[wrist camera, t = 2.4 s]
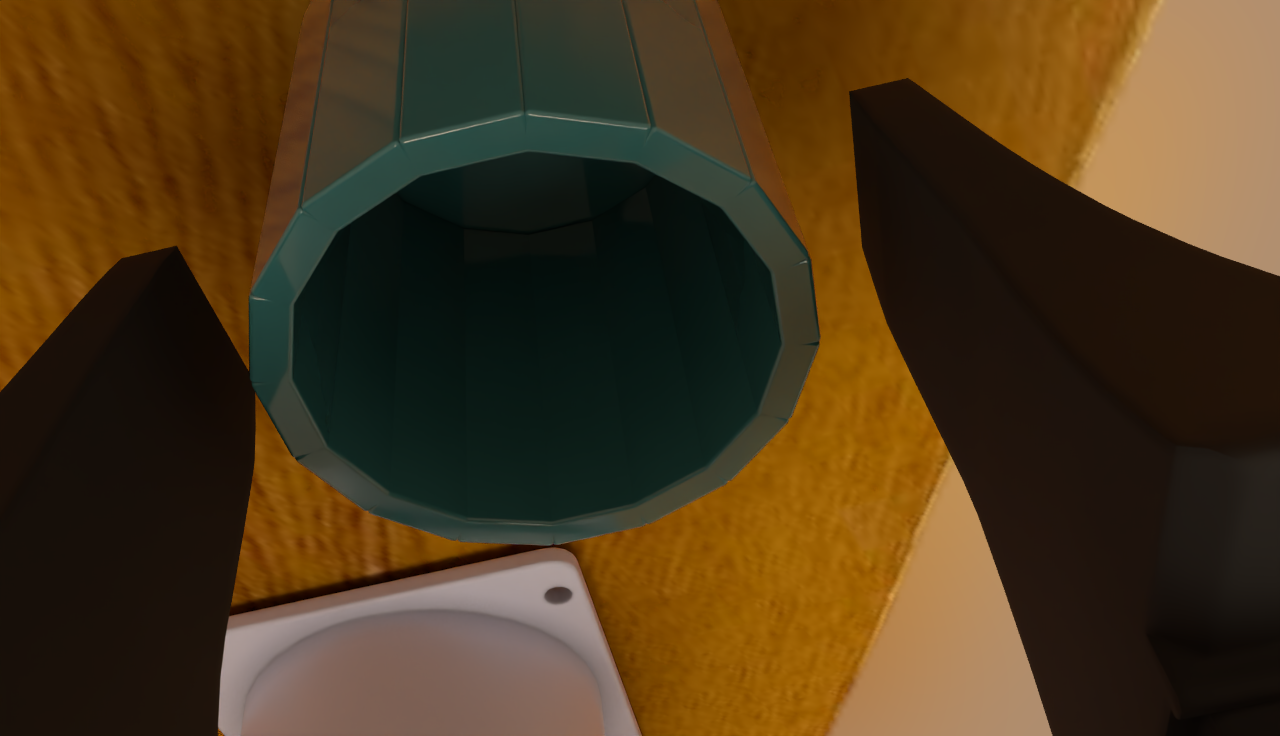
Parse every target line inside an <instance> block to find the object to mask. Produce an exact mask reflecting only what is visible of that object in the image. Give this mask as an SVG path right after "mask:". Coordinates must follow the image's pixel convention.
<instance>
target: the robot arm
mask: <svg viewBox="0 0 1280 736" xmlns="http://www.w3.org/2000/svg"><path fill="white" fill-rule="evenodd" d="M849 95H850V107H851V119H852V131H853V143H854V155H855V167H856V179H857V191H858V203H859V215H860V227H861V239H862V248H863V251H864V255H865V258H866V261H867V264H868V267H869V270H870V273H871V276H872V280H873V283H874V286H875V289H876V292H877V295H878V298H879V301H880V304H881V307H882V310H883V313H884V316H885V319H886V322H887V324H888V327H889V329H890V331H891V333H892V335H893V337H894V339H895V341H896V343H897V346H898V348H899V350H900V352H901V354H902V356H903V358H904V360H905V362H906V364H907V366H908V368H909V371H910V373H911V375H912V377H913V379H914V381H915V383H916V385H917V387H918V389H919V391H920V393H921V395H922V397H923V399H924V401H925V403H926V405H927V408H928V410H929V412H930V414H931V416H932V418H933V420H934V422H935V424H936V426H937V428H938V430H939V432H940V434H941V436H942V438H943V440H944V442H945V444H946V446H947V449H948V451H949V453H950V455H951V457H952V459H953V461H954V463H955V465H956V467H957V469H958V471H959V473H960V475H961V477H962V479H963V481H964V484H965V486H966V488H967V490H968V493H969V495H970V498H971V500H972V502H973V505H974V507H975V509H976V512H977V514H978V517H979V520H980V522H981V525H982V528H983V531H984V534H985V536H986V539H987V542H988V545H989V547H990V550H991V553H992V556H993V559H994V562H995V565H996V567H997V570H998V573H999V576H1000V579H1001V581H1002V584H1003V587H1004V590H1005V593H1006V596H1007V599H1008V602H1009V605H1010V608H1011V611H1012V614H1013V617H1014V620H1015V622H1016V625H1017V628H1018V631H1019V634H1020V637H1021V640H1022V643H1023V646H1024V649H1025V652H1026V654H1027V658H1028V661H1029V664H1030V667H1031V670H1032V673H1033V676H1034V679H1035V682H1036V685H1037V688H1038V691H1039V695H1040V698H1041V701H1042V704H1043V707H1044V710H1045V713H1046V716H1047V719H1048V723H1049V726H1050V729H1051V732H1052V734H1053V736H1280V276H1277V275H1274V274H1271V273H1268V272H1265V271H1262V270H1260V269H1257V268H1254V267H1251V266H1248V265H1245V264H1242V263H1239V262H1236V261H1233V260H1230V259H1227V258H1224V257H1221V256H1219V255H1216V254H1213V253H1211V252H1208V251H1206V250H1203V249H1200V248H1198V247H1195V246H1193V245H1190V244H1188V243H1185V242H1183V241H1181V240H1178V239H1176V238H1174V237H1172V236H1169V235H1167V234H1165V233H1163V232H1160V231H1158V230H1156V229H1153V228H1151V227H1149V226H1146V225H1144V224H1142V223H1140V222H1137V221H1135V220H1133V219H1131V218H1129V217H1127V216H1125V215H1123V214H1121V213H1119V212H1117V211H1115V210H1113V209H1111V208H1109V207H1106V206H1105V205H1103V204H1101V203H1099V202H1097V201H1095V200H1094V199H1092V198H1090V197H1088V196H1087V195H1085V194H1083V193H1081V192H1079V191H1077V190H1076V189H1074V188H1072V187H1070V186H1068V185H1067V184H1065V183H1063V182H1061V181H1059V180H1058V179H1056V178H1054V177H1053V176H1051V175H1049V174H1048V173H1046V172H1044V171H1043V170H1041V169H1039V168H1038V167H1036V166H1034V165H1033V164H1031V163H1030V162H1028V161H1026V160H1025V159H1023V158H1022V157H1020V156H1019V155H1017V154H1016V153H1014V152H1012V151H1011V150H1009V149H1008V148H1006V147H1005V146H1003V145H1002V144H1000V143H999V142H997V141H996V140H994V139H993V138H992V137H990V136H989V135H987V134H986V133H984V132H983V131H981V130H980V129H979V128H977V127H976V126H974V125H973V124H972V123H970V122H969V121H967V120H966V119H964V118H963V117H962V116H960V115H959V114H958V113H956V112H955V111H953V110H952V109H951V108H949V107H948V106H946V105H945V104H944V103H942V102H941V101H939V100H938V99H937V98H935V97H934V96H933V95H931V94H930V93H928V92H927V91H925V90H924V89H923V88H921V87H920V86H918V85H917V84H916V83H914V82H913V81H911V80H910V79H908V78H906V79H902V80H897V81H893V82H889V83H884V84H880V85H876V86H871V87H867V88H863V89H858V90H854V91H849ZM255 428H256V426H255V391H254V389H253V387H252V382H251V380H250V378H249V371H248V369H247V368H246V366H245V364H244V362H243V361H242V359H241V357H240V356H239V354H238V352H237V350H236V349H235V347H234V345H233V343H232V342H231V340H230V338H229V336H228V335H227V333H226V331H225V329H224V328H223V326H222V324H221V322H220V321H219V319H218V317H217V315H216V314H215V312H214V310H213V308H212V307H211V305H210V303H209V301H208V300H207V298H206V296H205V294H204V293H203V291H202V289H201V288H200V286H199V284H198V282H197V281H196V279H195V277H194V275H193V274H192V272H191V270H190V268H189V267H188V265H187V263H186V261H185V260H184V258H183V256H182V254H181V253H180V251H179V249H178V247H177V246H174V247H169V248H165V249H161V250H156V251H152V252H148V253H143V254H139V255H135V256H130V257H126V258H122V259H121V260H119V261H118V262H117V263H116V264H115V265H114V266H113V267H112V268H111V269H110V270H109V271H108V272H107V273H106V274H105V275H104V276H103V277H102V278H101V279H100V280H99V281H98V282H97V283H96V284H95V286H94V287H93V288H92V289H91V290H90V291H89V292H88V293H87V294H86V295H85V297H84V298H83V299H82V300H81V301H80V302H79V303H78V304H77V306H76V307H75V308H74V309H73V310H72V311H71V312H70V314H69V315H68V316H67V317H66V318H65V319H64V320H63V322H62V323H61V324H60V325H59V326H58V327H57V328H56V330H55V331H54V332H53V333H52V334H51V335H50V337H49V338H48V339H47V340H46V341H45V342H44V343H43V344H42V346H41V347H40V348H39V349H38V350H37V351H36V352H35V354H34V355H33V356H32V357H31V358H30V359H29V360H28V362H27V363H26V364H25V365H24V366H23V367H22V368H21V369H20V371H19V372H18V373H17V374H16V375H15V376H14V377H13V379H12V380H11V381H10V382H9V383H8V384H7V385H6V386H5V388H4V389H3V390H2V391H1V392H0V736H218V728H219V729H220V731H221V732H222V733H223V734H224V735H225V736H642V735H641V732H640V729H639V726H638V724H637V721H636V718H635V716H634V713H633V710H632V707H631V705H630V702H629V699H628V697H627V694H626V691H625V689H624V686H623V683H622V680H621V678H620V675H619V672H618V670H617V667H616V664H615V661H614V659H613V656H612V653H611V651H610V648H609V645H608V642H607V640H606V637H605V634H604V632H603V629H602V626H601V623H600V621H599V618H598V615H597V613H596V610H595V607H594V605H593V602H592V599H591V596H590V594H589V591H588V588H587V586H586V583H585V580H584V577H583V575H582V572H581V569H580V567H579V564H578V561H577V559H576V558H575V556H574V555H573V553H571V552H569V551H567V550H565V549H561V548H556V547H551V548H543V549H538V550H533V551H529V552H524V553H520V554H515V555H510V556H506V557H501V558H496V559H492V560H487V561H483V562H478V563H473V564H469V565H464V566H459V567H455V568H450V569H445V570H441V571H436V572H432V573H427V574H422V575H418V576H413V577H408V578H404V579H399V580H394V581H390V582H385V583H381V584H376V585H371V586H367V587H362V588H357V589H353V590H348V591H344V592H339V593H334V594H330V595H325V596H320V597H316V598H311V599H306V600H302V601H297V602H293V603H288V604H283V605H279V606H274V607H269V608H265V609H260V610H255V611H251V612H246V613H242V614H237V615H232V616H229V613H230V608H231V602H232V596H233V590H234V584H235V579H236V573H237V567H238V561H239V555H240V550H241V544H242V538H243V532H244V527H245V520H246V514H247V508H248V502H249V496H250V489H251V483H252V476H253V469H254V461H255Z"/></svg>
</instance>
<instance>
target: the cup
mask: <svg viewBox="0 0 1280 736" xmlns="http://www.w3.org/2000/svg"><path fill="white" fill-rule="evenodd" d="M820 337H821V334H820V326H819V318H818V309H817V301H816V293H815V285H814V277H813V268H812V260H811V257H810V254H809V251H808V249H807V246H806V243H805V240H804V238H803V235H802V232H801V229H800V227H799V224H798V221H797V218H796V215H795V213H794V210H793V207H792V204H791V202H790V199H789V196H788V193H787V191H786V188H785V185H784V182H783V179H782V177H781V174H780V171H779V168H778V166H777V163H776V160H775V157H774V155H773V152H772V149H771V146H770V144H769V141H768V138H767V135H766V132H765V130H764V127H763V124H762V121H761V119H760V116H759V113H758V110H757V108H756V105H755V102H754V99H753V96H752V94H751V91H750V88H749V85H748V83H747V80H746V77H745V74H744V72H743V69H742V66H741V63H740V61H739V58H738V55H737V52H736V49H735V47H734V44H733V41H732V38H731V36H730V33H729V30H728V27H727V25H726V22H725V19H724V16H723V13H722V11H721V8H720V5H719V3H718V0H311V1H310V4H309V6H308V8H307V10H306V12H305V14H304V16H303V21H302V24H301V30H300V35H299V40H298V45H297V50H296V55H295V60H294V66H293V71H292V76H291V81H290V86H289V91H288V97H287V102H286V107H285V112H284V117H283V122H282V128H281V133H280V138H279V143H278V148H277V153H276V159H275V164H274V169H273V174H272V179H271V184H270V190H269V195H268V200H267V205H266V210H265V215H264V220H263V226H262V231H261V236H260V241H259V246H258V251H257V257H256V262H255V267H254V272H253V277H252V282H251V288H250V293H249V378H250V380H251V382H252V387H253V389H254V391H255V392H256V394H257V396H258V398H259V399H260V401H261V403H262V405H263V406H264V408H265V410H266V411H267V413H268V415H269V417H270V418H271V420H272V422H273V424H274V425H275V427H276V429H277V431H278V432H279V434H280V436H281V438H282V439H283V441H284V443H285V445H286V446H287V448H288V450H289V451H290V453H291V455H292V456H293V457H295V459H296V460H297V462H299V463H300V464H301V465H303V466H304V467H305V468H307V469H308V470H309V471H311V472H312V473H314V474H315V475H316V476H318V477H319V478H320V479H322V480H323V481H324V482H326V483H327V484H328V485H330V486H331V487H333V488H334V489H335V490H337V491H338V492H339V493H341V494H342V495H343V496H345V497H346V498H347V499H349V500H350V501H352V502H353V503H354V504H356V505H357V506H358V507H360V508H361V509H362V510H364V511H368V512H369V513H370V514H372V515H376V516H379V517H382V518H385V519H388V520H391V521H394V522H397V523H400V524H403V525H407V526H410V527H413V528H416V529H419V530H422V531H425V532H428V533H431V534H434V535H438V536H441V537H444V538H447V539H450V540H453V541H454V540H458V541H460V542H475V543H499V544H523V545H547V546H550V545H552V544H553V543H554V544H555V545H559V544H564V543H569V542H573V541H578V540H583V539H587V538H592V537H596V536H601V535H606V534H610V533H615V532H620V531H624V530H629V529H633V528H638V527H643V526H645V525H646V524H651V523H653V522H655V521H657V520H659V519H661V518H663V517H665V516H666V515H668V514H670V513H672V512H674V511H676V510H678V509H680V508H682V507H684V506H686V505H688V504H689V503H691V502H693V501H695V500H697V499H699V498H701V497H703V496H705V495H707V494H709V493H711V492H712V491H714V490H716V489H718V488H720V487H722V486H724V485H726V484H727V482H728V481H731V480H732V479H733V478H734V477H735V476H736V475H737V474H738V473H739V472H740V471H741V470H742V469H743V468H744V467H745V466H746V465H747V464H748V463H749V462H750V461H751V460H752V459H753V458H754V457H755V456H756V455H757V454H758V453H759V452H760V451H761V450H762V449H763V448H764V447H765V446H766V444H767V443H768V442H769V441H770V440H771V439H772V438H773V437H774V436H775V435H776V434H777V433H778V432H779V431H780V430H781V429H782V428H783V427H784V426H785V425H786V424H787V423H788V421H789V418H791V417H792V414H793V412H794V409H795V407H796V404H797V402H798V399H799V396H800V394H801V391H802V389H803V386H804V384H805V381H806V378H807V376H808V373H809V371H810V368H811V366H812V363H813V360H814V358H815V355H816V353H817V350H818V348H819V345H820V342H819V341H820Z"/></svg>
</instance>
